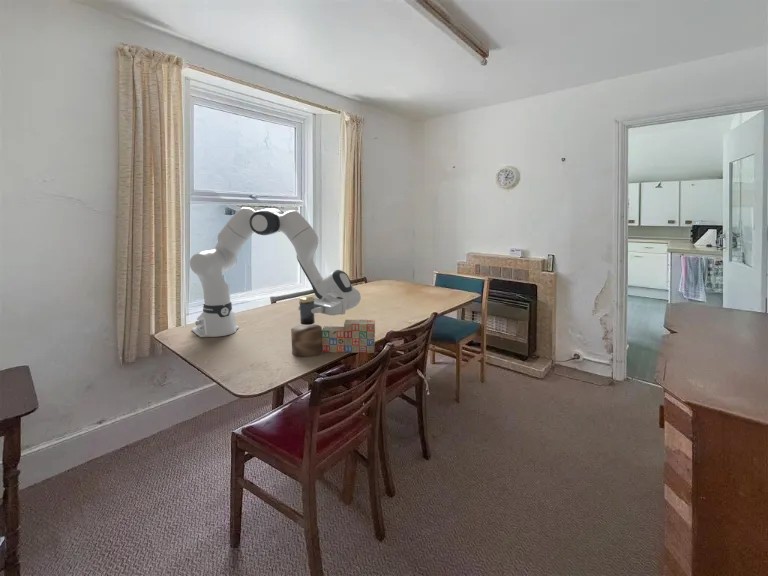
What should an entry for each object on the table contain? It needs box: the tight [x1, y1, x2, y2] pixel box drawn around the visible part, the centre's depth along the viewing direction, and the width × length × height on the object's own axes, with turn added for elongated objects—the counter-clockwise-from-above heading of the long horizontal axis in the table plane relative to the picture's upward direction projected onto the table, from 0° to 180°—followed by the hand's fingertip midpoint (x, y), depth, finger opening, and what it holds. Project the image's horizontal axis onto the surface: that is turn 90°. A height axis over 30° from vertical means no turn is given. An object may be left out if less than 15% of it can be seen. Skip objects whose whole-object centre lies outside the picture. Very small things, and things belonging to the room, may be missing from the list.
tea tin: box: [298, 296, 315, 325], centre depth 152 cm, size 6×6×10 cm
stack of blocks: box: [322, 319, 376, 354], centre depth 157 cm, size 21×6×12 cm, turn 89°
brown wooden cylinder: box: [290, 323, 323, 358], centre depth 154 cm, size 12×12×10 cm
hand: (305, 309), depth 151 cm, fingers closed on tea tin, 5 cm apart
